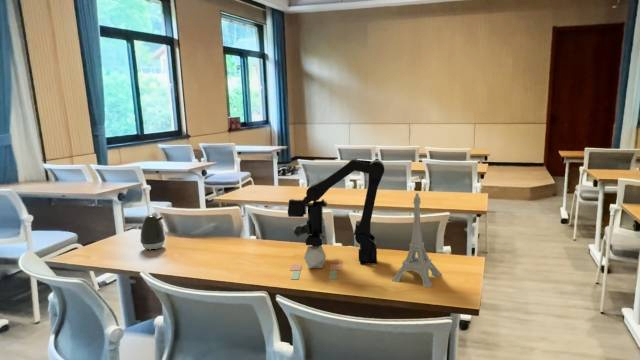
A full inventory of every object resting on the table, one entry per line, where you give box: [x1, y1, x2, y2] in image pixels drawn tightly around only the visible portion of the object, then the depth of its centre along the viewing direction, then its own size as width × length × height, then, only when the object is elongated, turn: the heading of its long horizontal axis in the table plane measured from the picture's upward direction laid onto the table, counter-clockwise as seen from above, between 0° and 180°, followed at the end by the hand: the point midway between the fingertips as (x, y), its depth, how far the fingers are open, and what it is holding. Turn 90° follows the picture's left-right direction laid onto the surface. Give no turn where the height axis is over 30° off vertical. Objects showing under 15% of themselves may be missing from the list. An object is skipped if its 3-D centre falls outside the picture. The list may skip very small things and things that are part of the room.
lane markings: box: [289, 263, 342, 281], centre depth 161 cm, size 19×14×1 cm
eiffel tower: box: [391, 192, 442, 289], centre depth 150 cm, size 13×13×30 cm
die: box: [303, 245, 327, 269], centre depth 165 cm, size 8×9×10 cm
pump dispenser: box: [139, 214, 166, 251], centre depth 194 cm, size 10×10×15 cm
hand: (316, 255), depth 172 cm, fingers closed
